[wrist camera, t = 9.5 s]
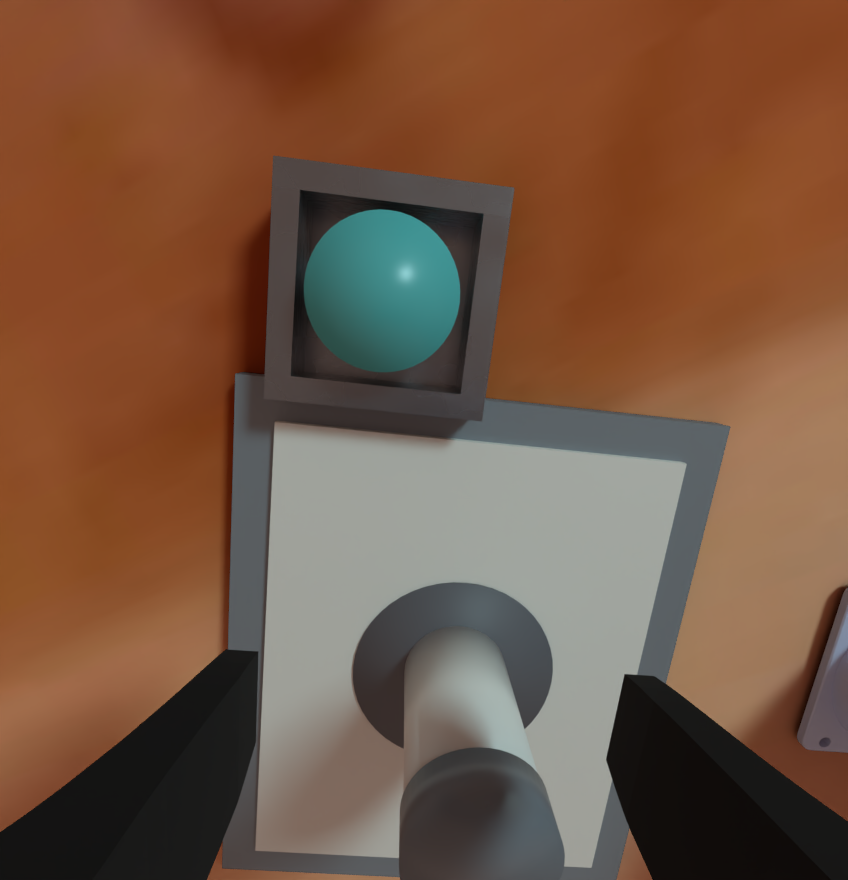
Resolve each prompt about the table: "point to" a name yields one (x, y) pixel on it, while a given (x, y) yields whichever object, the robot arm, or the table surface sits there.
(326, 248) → the button
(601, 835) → the board
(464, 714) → the capped white cylinder
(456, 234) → the button housing
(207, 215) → the table surface
